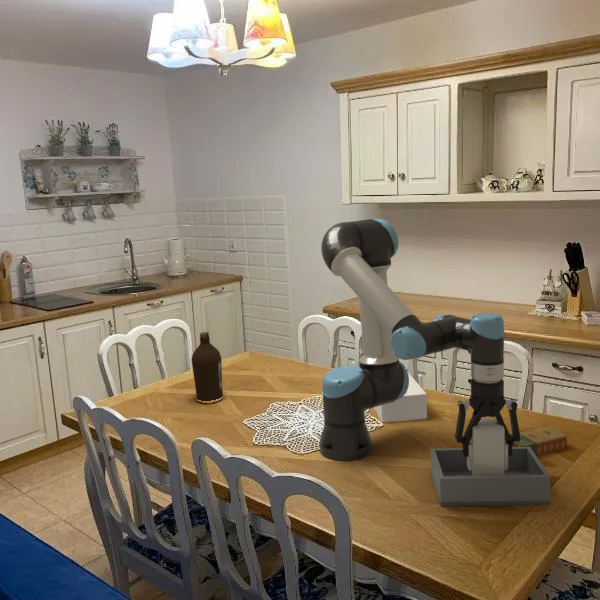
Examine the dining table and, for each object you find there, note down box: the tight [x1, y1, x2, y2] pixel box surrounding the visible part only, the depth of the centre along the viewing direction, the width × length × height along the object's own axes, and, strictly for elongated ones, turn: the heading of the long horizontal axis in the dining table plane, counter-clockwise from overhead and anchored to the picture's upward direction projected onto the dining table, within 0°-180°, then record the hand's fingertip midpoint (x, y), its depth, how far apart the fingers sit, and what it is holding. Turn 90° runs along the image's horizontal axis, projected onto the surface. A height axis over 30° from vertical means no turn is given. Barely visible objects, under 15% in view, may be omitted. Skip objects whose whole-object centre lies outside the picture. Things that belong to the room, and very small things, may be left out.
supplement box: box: [470, 418, 505, 476], centre depth 150 cm, size 7×7×13 cm
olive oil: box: [191, 331, 224, 401], centre depth 222 cm, size 11×11×25 cm
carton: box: [504, 425, 568, 456], centre depth 172 cm, size 8×16×4 cm, turn 110°
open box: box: [430, 447, 551, 507], centre depth 151 cm, size 25×16×7 cm, turn 86°
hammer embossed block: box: [373, 372, 428, 423], centre depth 207 cm, size 14×25×11 cm, turn 5°
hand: (487, 467), depth 151 cm, fingers closed on supplement box, 8 cm apart
